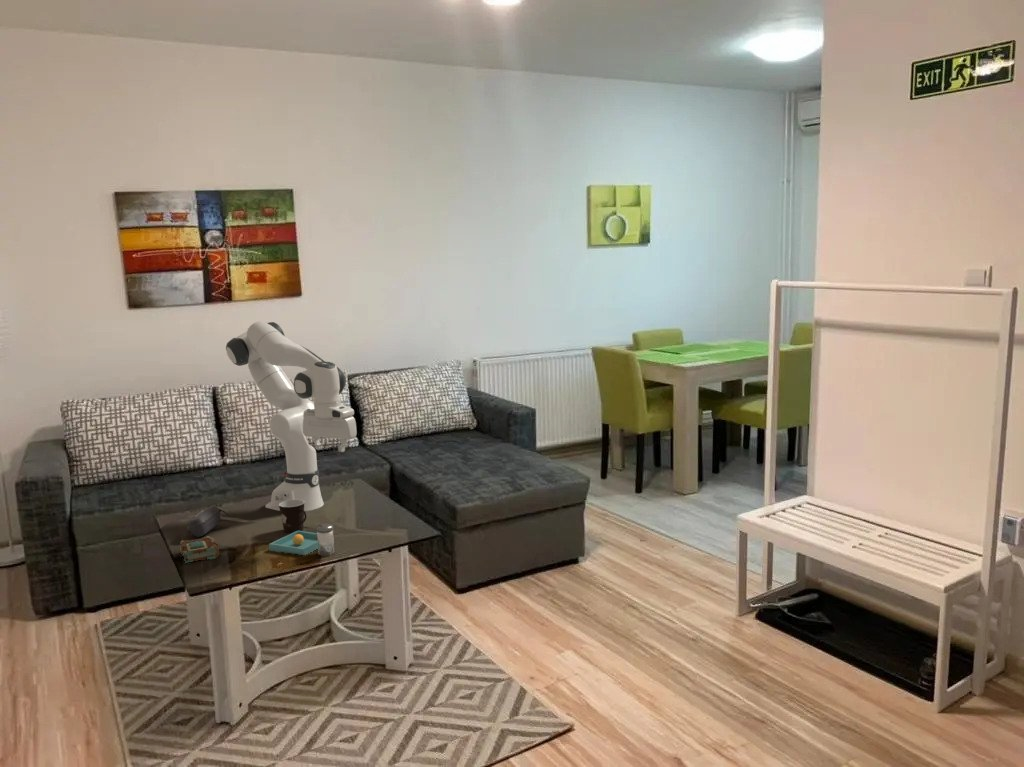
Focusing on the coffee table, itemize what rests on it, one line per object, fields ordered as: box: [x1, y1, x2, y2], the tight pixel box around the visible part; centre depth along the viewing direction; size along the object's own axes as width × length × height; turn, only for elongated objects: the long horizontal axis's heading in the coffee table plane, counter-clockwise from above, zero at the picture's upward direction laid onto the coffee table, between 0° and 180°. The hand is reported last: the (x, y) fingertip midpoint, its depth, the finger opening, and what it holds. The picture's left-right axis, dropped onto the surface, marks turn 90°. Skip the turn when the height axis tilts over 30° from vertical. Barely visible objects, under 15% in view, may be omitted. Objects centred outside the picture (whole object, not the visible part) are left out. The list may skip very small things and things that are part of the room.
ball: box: [293, 534, 304, 545], centre depth 268 cm, size 4×4×4 cm
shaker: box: [315, 523, 335, 557], centre depth 261 cm, size 5×5×9 cm
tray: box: [268, 530, 318, 557], centre depth 268 cm, size 14×14×2 cm
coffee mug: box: [279, 500, 307, 534], centre depth 283 cm, size 12×9×10 cm
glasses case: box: [186, 505, 230, 538], centre depth 286 cm, size 18×10×8 cm, turn 178°
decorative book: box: [179, 535, 220, 562], centre depth 266 cm, size 13×18×5 cm
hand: (330, 450), depth 278 cm, fingers open, 8 cm apart
